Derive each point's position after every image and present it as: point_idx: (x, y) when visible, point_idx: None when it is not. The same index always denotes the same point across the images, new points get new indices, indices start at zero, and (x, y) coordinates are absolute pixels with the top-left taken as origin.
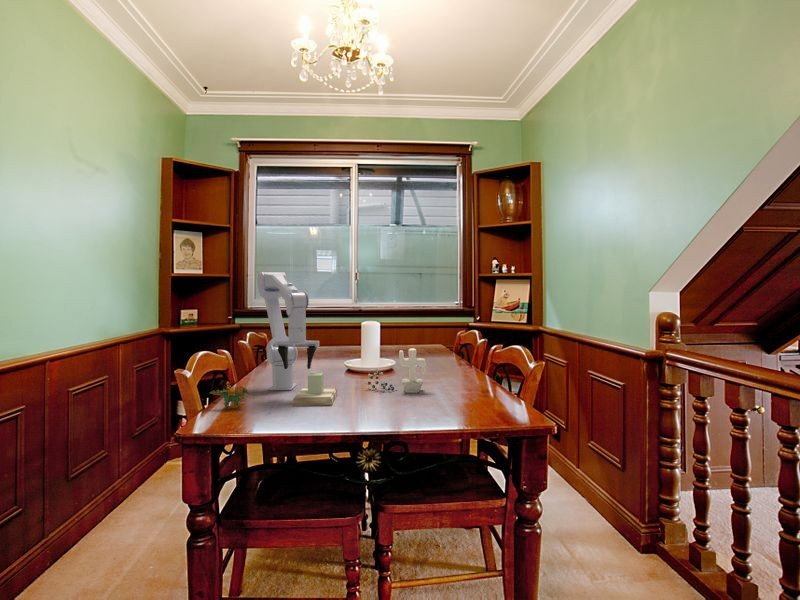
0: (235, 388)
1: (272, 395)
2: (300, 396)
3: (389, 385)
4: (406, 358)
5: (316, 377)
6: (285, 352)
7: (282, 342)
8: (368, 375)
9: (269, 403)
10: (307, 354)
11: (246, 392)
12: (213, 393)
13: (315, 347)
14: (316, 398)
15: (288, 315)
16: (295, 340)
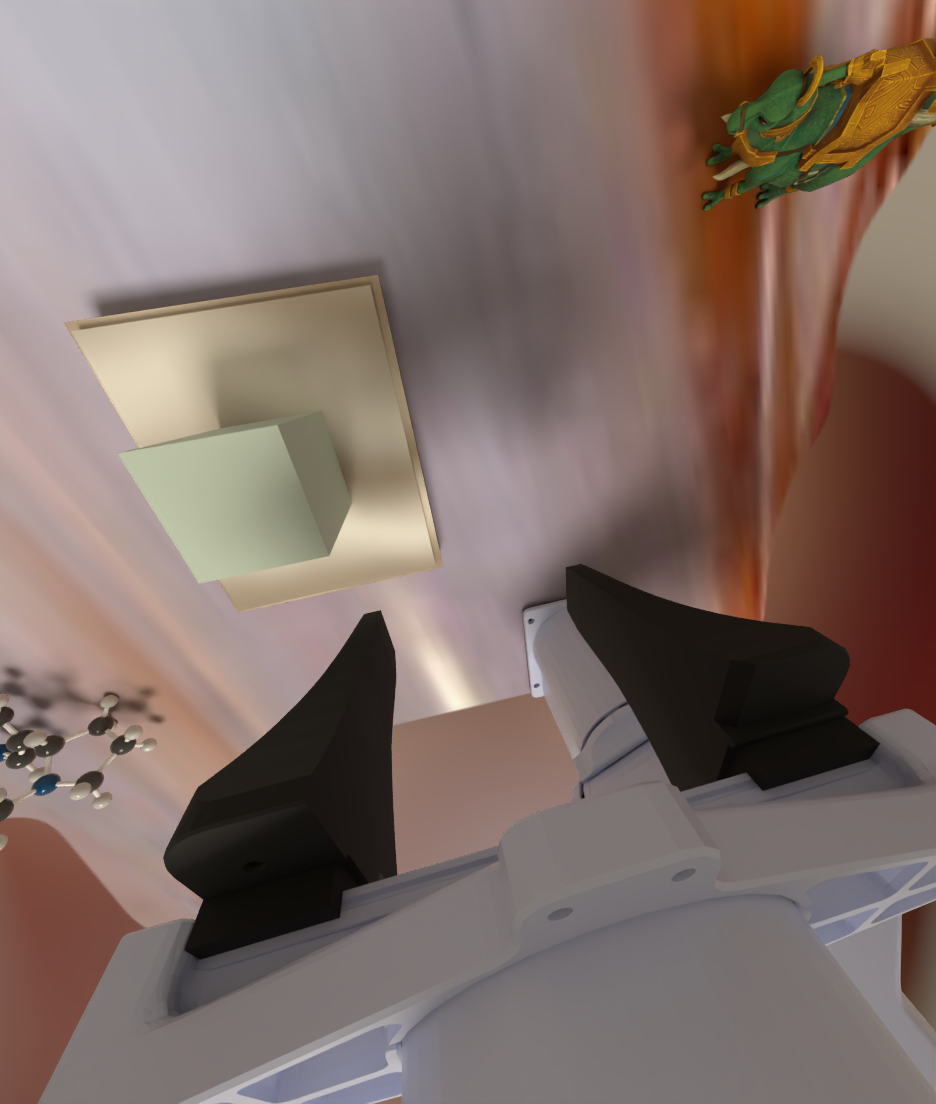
0: (889, 72)
1: (583, 511)
2: (337, 323)
3: (2, 753)
4: None
5: (188, 439)
6: (678, 677)
7: (923, 836)
8: (84, 783)
9: (551, 334)
10: (341, 714)
11: (758, 98)
12: None
13: (216, 911)
14: (197, 313)
15: None
16: (657, 1027)
